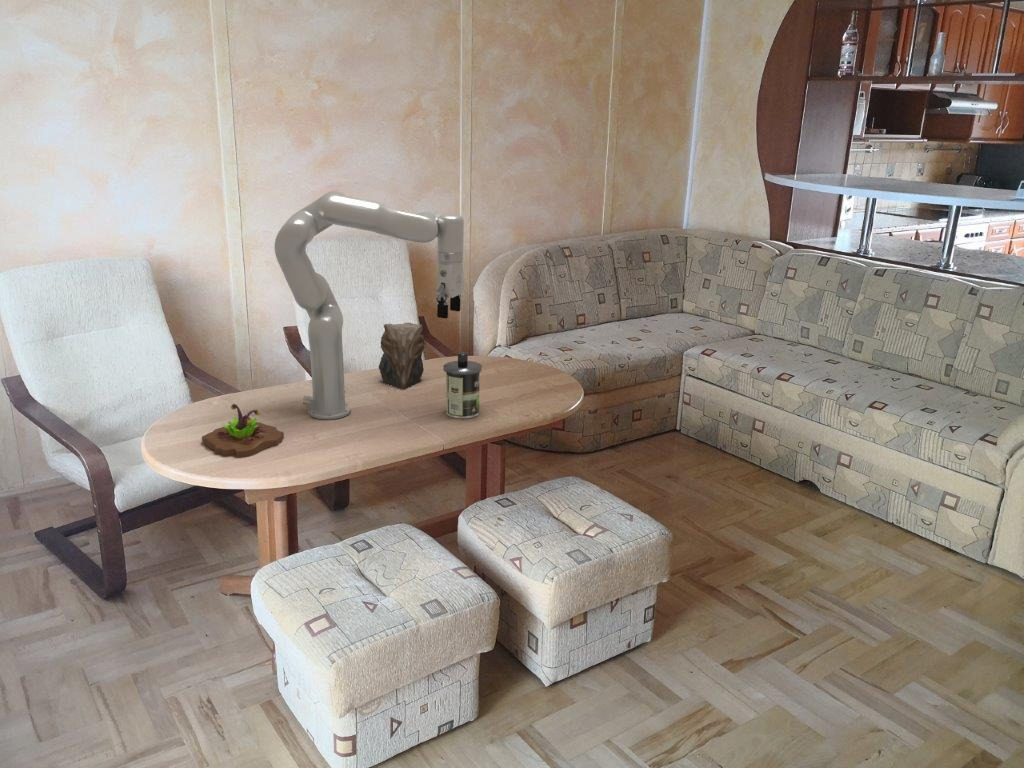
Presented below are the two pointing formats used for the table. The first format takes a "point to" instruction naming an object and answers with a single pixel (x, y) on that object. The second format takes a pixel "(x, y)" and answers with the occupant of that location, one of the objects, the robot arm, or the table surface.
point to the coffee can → (462, 395)
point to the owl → (402, 354)
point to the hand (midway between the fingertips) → (448, 314)
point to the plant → (242, 436)
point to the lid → (462, 366)
